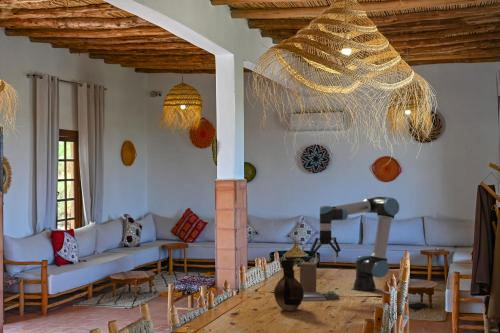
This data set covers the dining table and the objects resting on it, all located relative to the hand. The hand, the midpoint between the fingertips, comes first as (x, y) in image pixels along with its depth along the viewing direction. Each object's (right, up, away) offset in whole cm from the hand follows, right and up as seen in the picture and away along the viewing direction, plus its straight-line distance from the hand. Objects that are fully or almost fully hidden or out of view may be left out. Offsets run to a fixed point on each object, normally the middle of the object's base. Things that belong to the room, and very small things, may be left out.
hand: (325, 262), depth 447 cm
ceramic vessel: (-26, -23, -38) cm, 52 cm away
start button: (+3, -21, -2) cm, 21 cm away
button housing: (+3, -22, -2) cm, 23 cm away
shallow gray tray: (-10, -22, -3) cm, 24 cm away
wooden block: (-10, -22, +14) cm, 28 cm away
